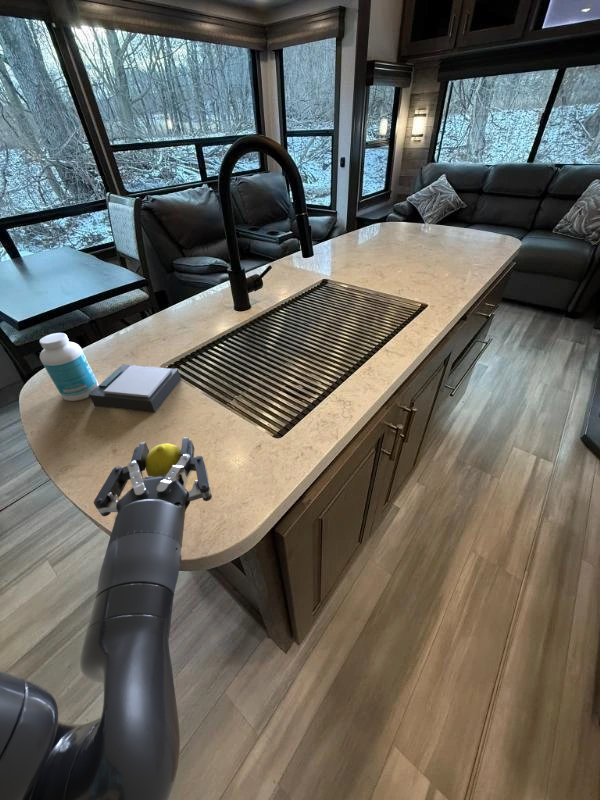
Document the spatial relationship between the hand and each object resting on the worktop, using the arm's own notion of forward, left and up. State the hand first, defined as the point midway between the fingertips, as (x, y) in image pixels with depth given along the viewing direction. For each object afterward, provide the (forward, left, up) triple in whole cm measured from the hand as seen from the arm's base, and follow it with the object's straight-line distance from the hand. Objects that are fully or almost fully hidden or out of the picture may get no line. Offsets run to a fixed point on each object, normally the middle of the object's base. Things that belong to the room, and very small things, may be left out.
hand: (165, 444), depth 49 cm
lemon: (+1, -2, -6) cm, 7 cm away
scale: (-20, +22, -9) cm, 31 cm away
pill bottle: (-33, +20, -9) cm, 39 cm away
